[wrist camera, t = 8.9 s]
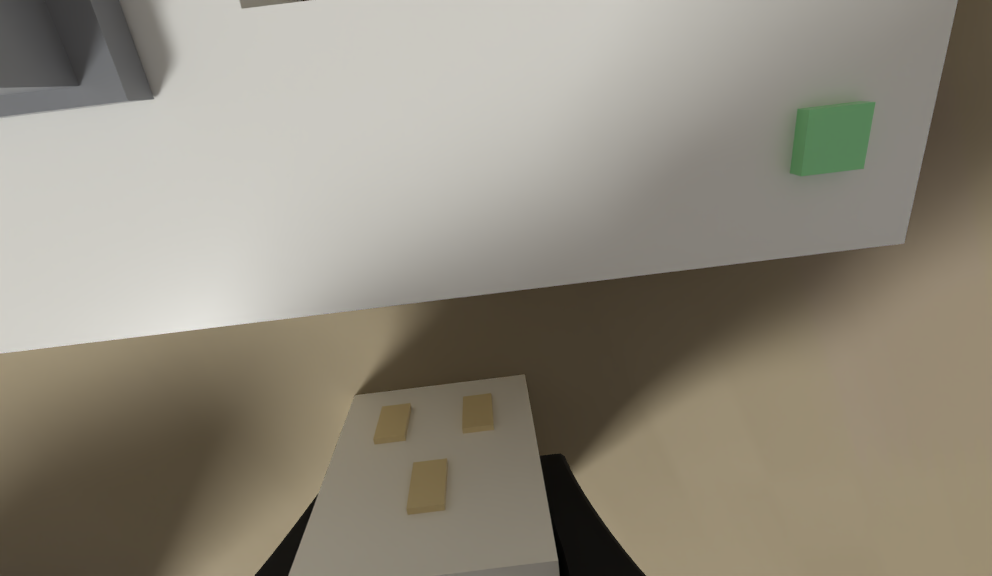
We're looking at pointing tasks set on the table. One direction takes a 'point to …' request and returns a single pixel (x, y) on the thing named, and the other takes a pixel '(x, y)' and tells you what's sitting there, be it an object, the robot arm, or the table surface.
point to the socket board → (457, 154)
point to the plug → (434, 487)
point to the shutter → (67, 57)
